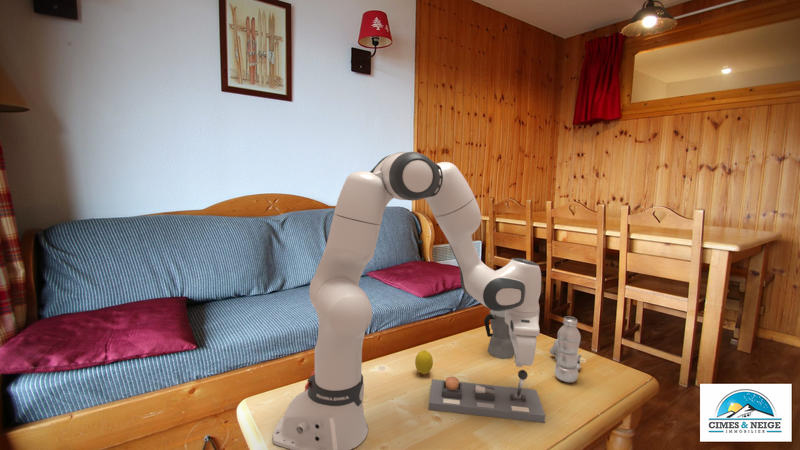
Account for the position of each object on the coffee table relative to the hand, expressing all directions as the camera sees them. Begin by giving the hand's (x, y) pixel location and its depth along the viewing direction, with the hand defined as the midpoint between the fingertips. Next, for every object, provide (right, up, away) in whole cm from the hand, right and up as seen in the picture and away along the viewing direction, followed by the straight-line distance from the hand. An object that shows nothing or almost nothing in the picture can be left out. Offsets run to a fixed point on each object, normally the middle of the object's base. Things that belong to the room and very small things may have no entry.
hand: (518, 364), depth 107 cm
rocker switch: (-10, -7, 0) cm, 12 cm away
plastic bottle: (+19, -10, +13) cm, 25 cm away
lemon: (-26, -9, +14) cm, 31 cm away
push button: (-18, -7, +1) cm, 20 cm away
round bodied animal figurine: (+23, -8, +23) cm, 34 cm away
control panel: (-10, -11, 0) cm, 14 cm away
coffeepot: (+2, -7, +29) cm, 30 cm away
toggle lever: (-1, -8, -2) cm, 8 cm away
